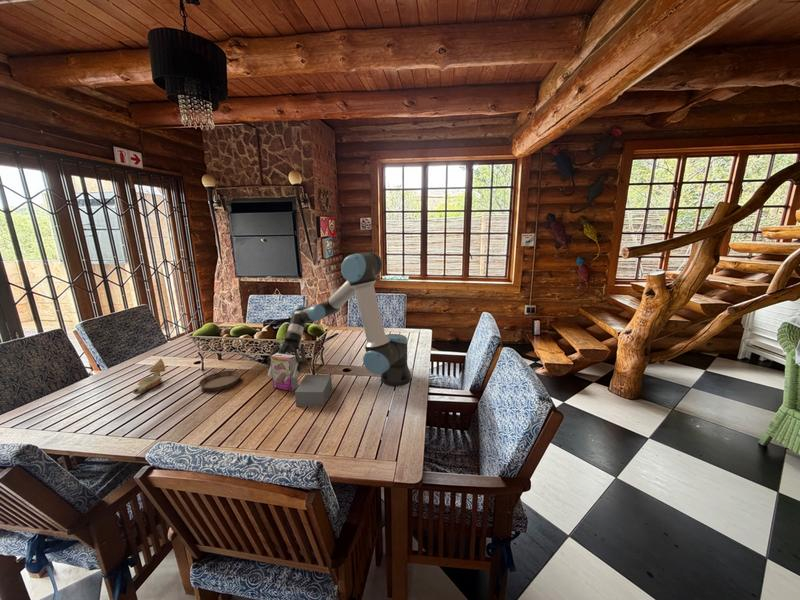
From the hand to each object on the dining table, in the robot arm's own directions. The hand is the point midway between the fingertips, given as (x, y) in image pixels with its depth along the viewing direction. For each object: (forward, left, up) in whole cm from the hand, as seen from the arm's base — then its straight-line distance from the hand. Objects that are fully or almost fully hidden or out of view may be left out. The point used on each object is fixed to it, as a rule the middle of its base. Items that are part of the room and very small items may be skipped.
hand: (281, 377), depth 148 cm
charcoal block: (-17, +3, -7) cm, 19 cm away
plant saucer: (+34, -3, -7) cm, 35 cm away
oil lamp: (+66, +4, -7) cm, 67 cm away
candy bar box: (0, -3, -7) cm, 8 cm away
